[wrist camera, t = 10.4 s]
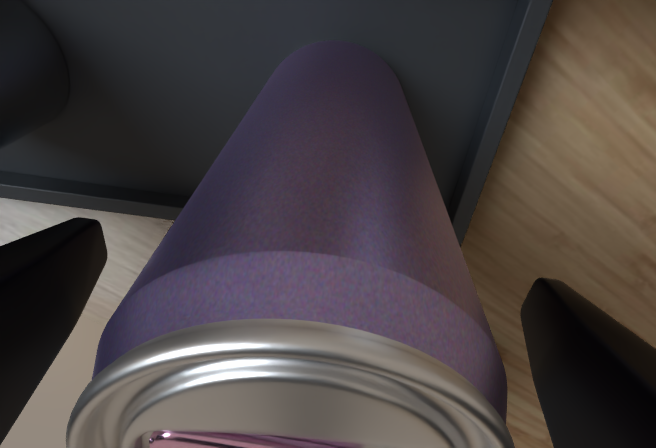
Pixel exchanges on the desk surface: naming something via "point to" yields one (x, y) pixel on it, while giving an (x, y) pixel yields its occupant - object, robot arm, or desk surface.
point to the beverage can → (305, 289)
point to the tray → (257, 90)
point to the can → (28, 72)
